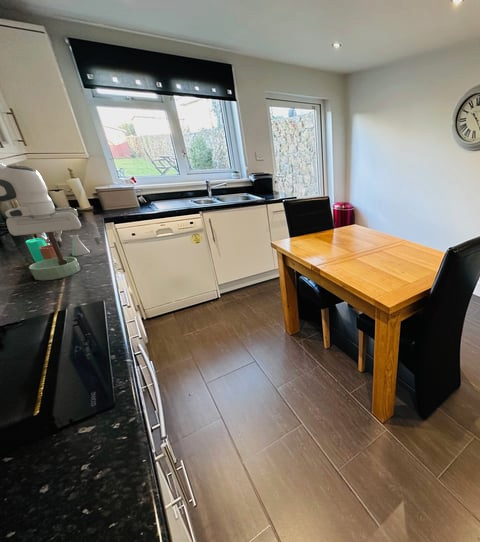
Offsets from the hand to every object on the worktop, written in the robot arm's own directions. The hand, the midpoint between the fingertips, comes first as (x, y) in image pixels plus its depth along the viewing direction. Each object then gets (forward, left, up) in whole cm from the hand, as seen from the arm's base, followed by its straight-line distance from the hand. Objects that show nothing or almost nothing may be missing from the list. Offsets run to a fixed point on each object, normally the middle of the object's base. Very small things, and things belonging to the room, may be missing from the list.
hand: (53, 242), depth 117 cm
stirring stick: (0, 0, -12) cm, 12 cm away
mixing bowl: (-3, 0, -14) cm, 15 cm away
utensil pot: (-5, +15, -14) cm, 21 cm away
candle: (-10, +25, -14) cm, 31 cm away
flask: (+3, +27, -14) cm, 31 cm away
